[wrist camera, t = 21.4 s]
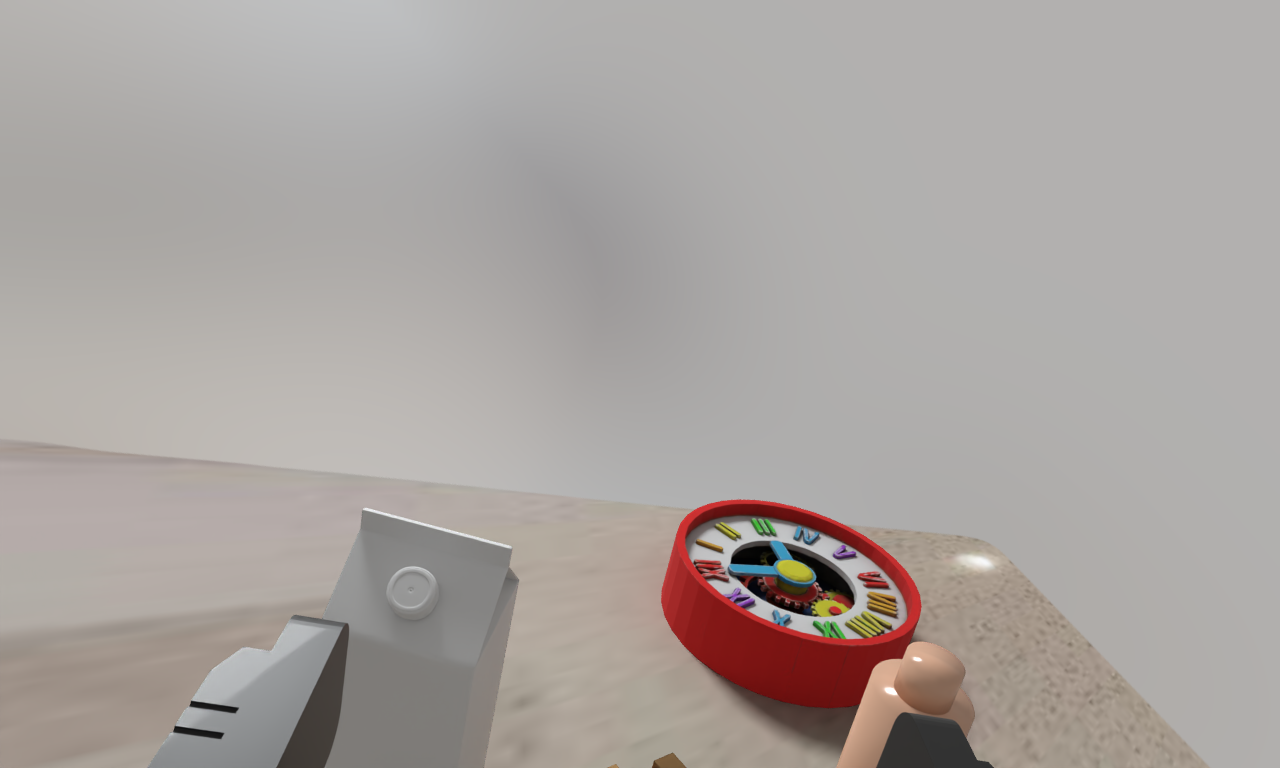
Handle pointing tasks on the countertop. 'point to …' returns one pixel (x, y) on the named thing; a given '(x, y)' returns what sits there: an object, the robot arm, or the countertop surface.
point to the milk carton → (420, 644)
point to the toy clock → (787, 601)
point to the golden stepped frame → (664, 762)
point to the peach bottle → (906, 700)
